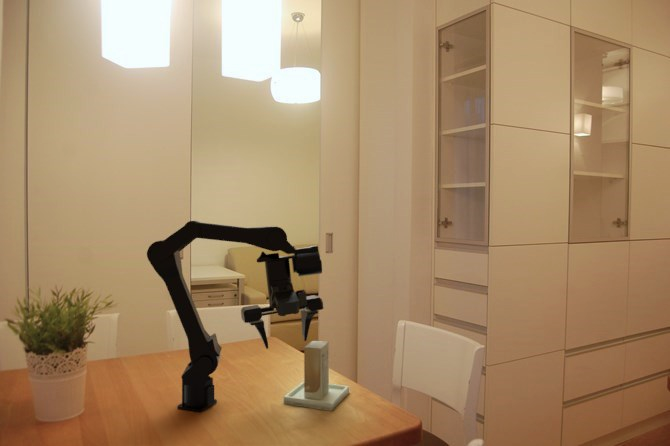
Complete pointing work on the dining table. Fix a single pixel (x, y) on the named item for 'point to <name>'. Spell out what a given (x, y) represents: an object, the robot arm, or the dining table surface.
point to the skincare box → (316, 370)
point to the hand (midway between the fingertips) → (286, 344)
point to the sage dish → (326, 403)
